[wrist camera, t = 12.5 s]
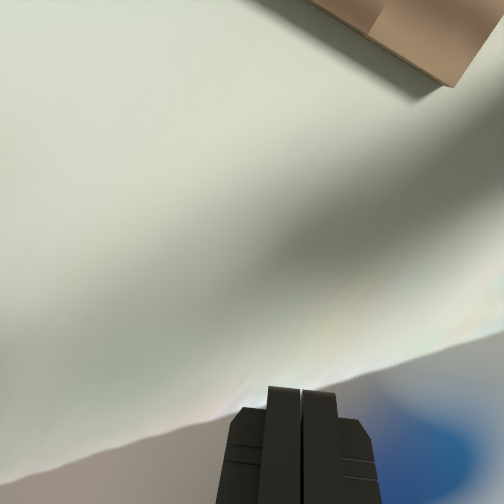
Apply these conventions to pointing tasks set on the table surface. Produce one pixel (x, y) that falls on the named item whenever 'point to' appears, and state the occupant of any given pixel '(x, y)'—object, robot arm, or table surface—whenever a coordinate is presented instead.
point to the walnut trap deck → (422, 30)
